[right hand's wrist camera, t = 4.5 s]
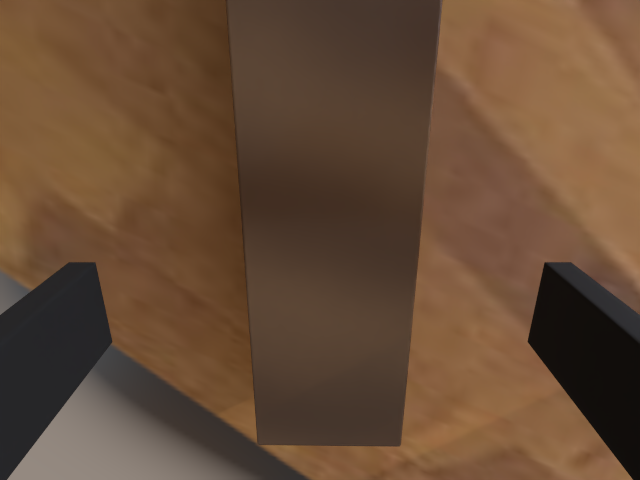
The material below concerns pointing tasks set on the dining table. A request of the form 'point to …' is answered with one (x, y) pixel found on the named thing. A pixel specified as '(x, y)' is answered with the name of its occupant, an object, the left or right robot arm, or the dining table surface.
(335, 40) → the bar
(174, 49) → the dining table surface
